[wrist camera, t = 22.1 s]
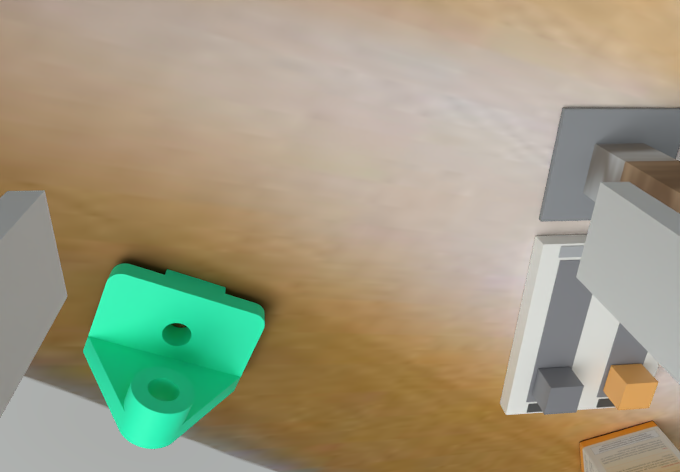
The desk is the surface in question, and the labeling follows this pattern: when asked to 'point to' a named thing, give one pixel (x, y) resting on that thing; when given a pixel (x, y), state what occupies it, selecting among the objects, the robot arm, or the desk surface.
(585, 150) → the mat
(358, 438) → the desk surface
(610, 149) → the wooden beam block
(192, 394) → the camera mount
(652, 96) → the desk surface
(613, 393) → the tab
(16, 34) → the desk surface
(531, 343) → the switch board
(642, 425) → the supplement box
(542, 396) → the tab
